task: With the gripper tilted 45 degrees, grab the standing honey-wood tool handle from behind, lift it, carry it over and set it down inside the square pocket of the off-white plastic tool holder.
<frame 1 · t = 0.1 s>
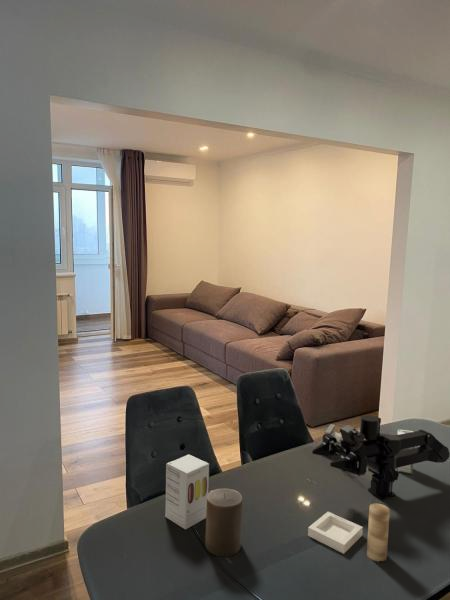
hand: (321, 458, 138), 17 cm above the table, tool horizontal, fingers open, 9 cm apart
supplement box: (186, 517, 134), on the table
pillar candle: (223, 545, 121), on the table
tool holder: (335, 535, 126), on the table
wooden tool handle: (376, 555, 118), on the table
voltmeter: (335, 460, 174), on the table
syrup box: (403, 470, 167), on the table
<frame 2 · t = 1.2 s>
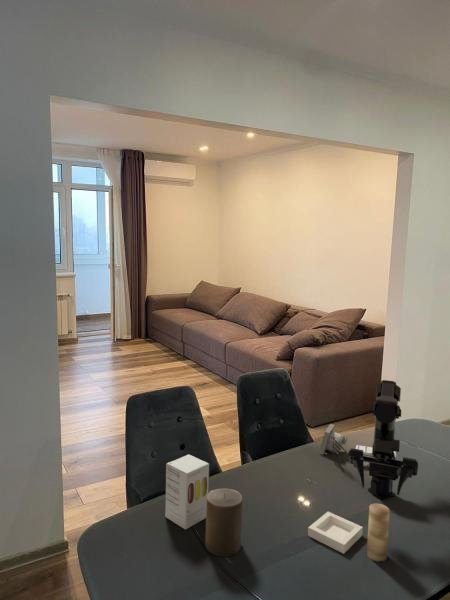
hand: (380, 491, 125), 14 cm above the table, tool tilted 45°, fingers open, 9 cm apart
syrup box: (396, 461, 168), point 3 cm above the table
everything else where it was.
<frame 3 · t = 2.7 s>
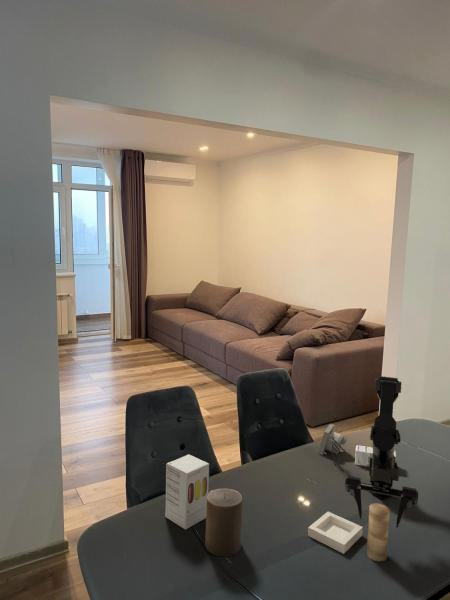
hand: (378, 523, 118), 9 cm above the table, tool tilted 45°, fingers open, 9 cm apart
nothing on the table moved.
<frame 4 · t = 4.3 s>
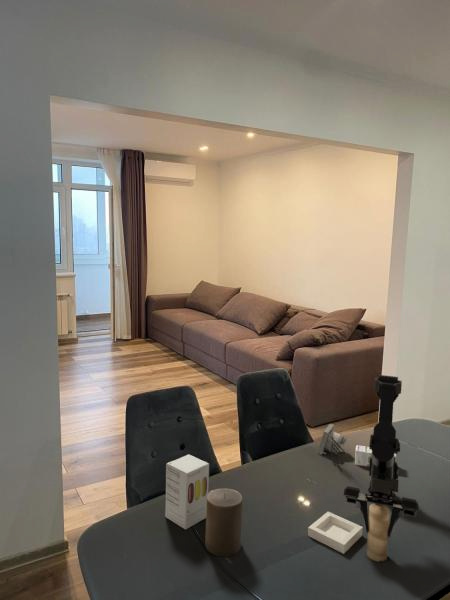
hand: (377, 534, 116), 7 cm above the table, tool tilted 45°, fingers closed on wooden tool handle, 5 cm apart
wooden tool handle: (376, 555, 118), on the table, touching gripper
everything else where it was.
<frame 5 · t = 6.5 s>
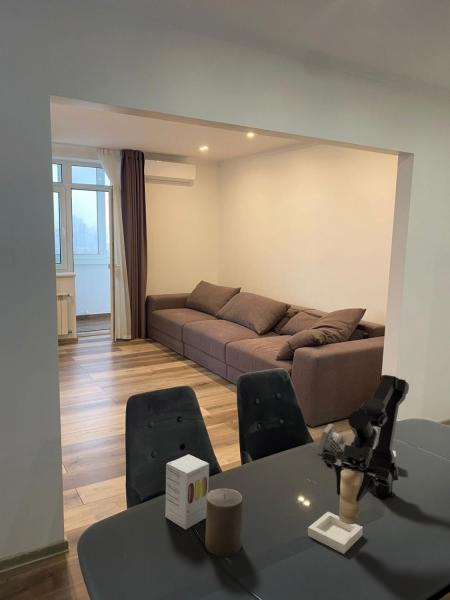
hand: (347, 498, 121), 13 cm above the table, tool tilted 45°, fingers closed on wooden tool handle, 5 cm apart
wooden tool handle: (348, 518, 123), point 7 cm above the table, touching gripper
everything else where it was.
when the fingers open (8 cm above the table, at t = 9.0 s): wooden tool handle stays where it is, resting on tool holder.
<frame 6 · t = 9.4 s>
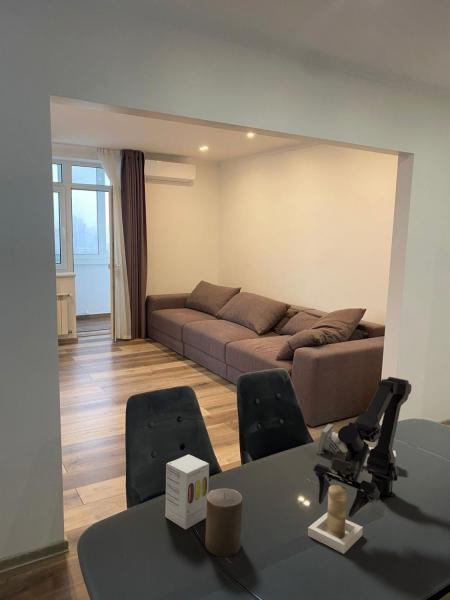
hand: (334, 510, 125), 8 cm above the table, tool tilted 45°, fingers open, 9 cm apart
wooden tool handle: (335, 533, 126), point 1 cm above the table, touching tool holder
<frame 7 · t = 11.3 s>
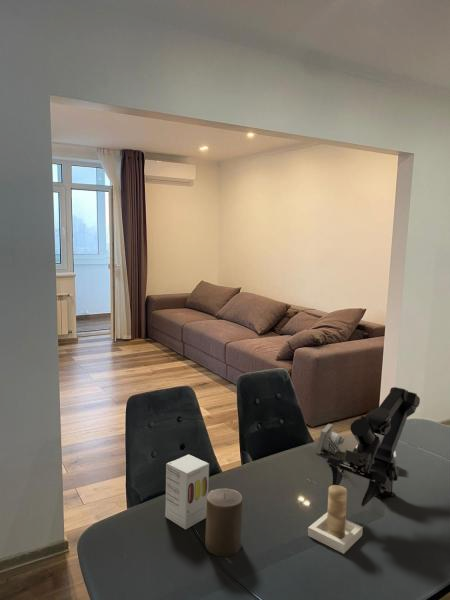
hand: (347, 499, 131), 8 cm above the table, tool tilted 45°, fingers open, 9 cm apart
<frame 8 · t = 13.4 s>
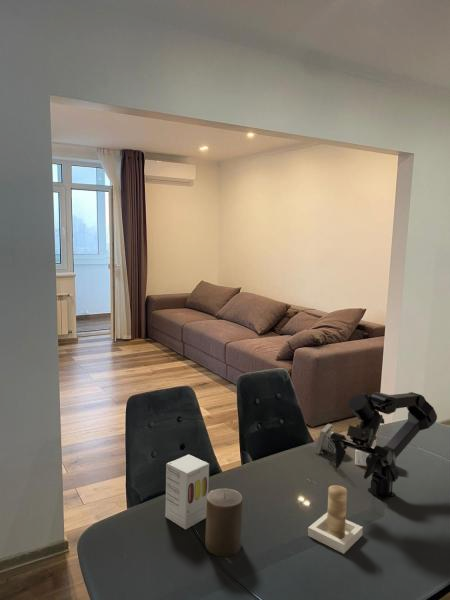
hand: (350, 473, 135), 14 cm above the table, tool tilted 45°, fingers open, 9 cm apart
at the end: wooden tool handle 0.1 cm off-centre on the tool holder, point 0.6 cm above the tool holder's base; wooden tool handle tilted 0°; the gripper is holding nothing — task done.
